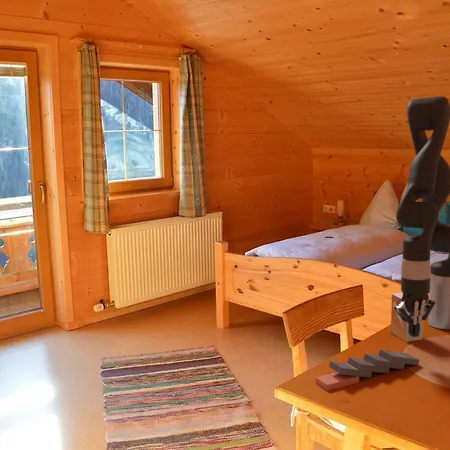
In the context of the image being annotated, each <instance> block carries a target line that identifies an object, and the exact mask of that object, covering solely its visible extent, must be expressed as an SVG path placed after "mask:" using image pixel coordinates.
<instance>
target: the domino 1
mask: <svg viewBox="0 0 450 450" xmlns="http://www.w3.org/2000/svg"><path fill="white" fill-rule="evenodd" d="M357 383H360V376H353V375H344V374H339V373H338V372H336V371H335V372H333V373H329V374H323V375H321V376H316V377H315V384H316V385H318V386H319V387H321V388H322V389H323V390H326V391H331V390H335V389H339V388H342V387H347V386H349V385H353V384H357Z"/></svg>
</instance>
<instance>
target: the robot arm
mask: <svg viewBox="0 0 450 450" xmlns="http://www.w3.org/2000/svg"><path fill="white" fill-rule="evenodd" d="M406 109H407V110H406V111H407V112H406V113H407V114H406V115H407V123H408V127H409V132H410V136H411V141H412V144H413V148H414V153H415V157H414V159H413V160H412V162H411V164H410V168H409V173H408V179H407V186H406V190H405V191H404V194H403V195H402V199H401V200H400V203H399V205H398V207H397V208H396V213H395V217H396V223H397V224H398V225H399V226H400V227H401V228H402V227H403V228H406V229H408V228H410V229H411V228H412V229H422V233H420V234H417V235H410V236H406V237H404V238H403V241H402V260H401V265H400V267H401V268H400V274H401V275H400V290H401V293H403V296H402V299H401V303H400V305H399V306H397V305H396V306H395V307H394V309H395V310H396V312H397V313H398V315H399V316H400V317H401V319H402V320H403V321H405V322H407V323H408V324H409V327H408V333H409V335H410V336H412V337H417V336H419V333H420V323H421V322H422V320H423V321H426V320H427V318H428V325H429V326H431V327H433V328H436V329H441V330H450V223H442V222H440V221H439V220H440V219H439V217H440V216H439V215H440V211H441V208H442V207H443V206H444V204H445V202H446V201H447V199H448V198H449V196H450V165H449V163H448V162H447V161H446V159H445V158H444V157H443V156H442V155H441V154H442V151H443V147H444V144H445V140H446V136H447V132H448V130H449V129H448V128H449V125H450V101H449V99H448V98H447V97H445V96H441V95H440V96H430V97H420V98H413V99H411V100H410V101H409V102H408V104H407V108H406ZM426 131H432V133H431V136H430V137H429V138H428V136H427V134H426ZM420 199H421V200H422V201H418V200H420ZM431 251H432V252H436V253H445V254H448V257H447V258H446V259H444V260H439V261H435V262H433V263H431Z"/></svg>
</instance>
